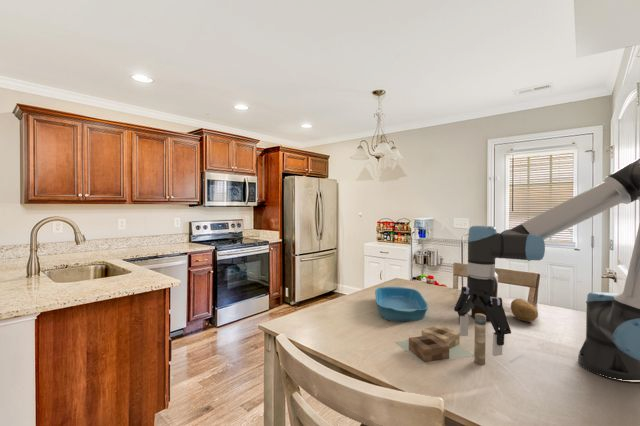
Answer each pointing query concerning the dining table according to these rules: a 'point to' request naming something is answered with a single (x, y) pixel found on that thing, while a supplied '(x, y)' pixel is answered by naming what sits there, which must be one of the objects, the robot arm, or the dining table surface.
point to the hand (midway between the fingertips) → (479, 344)
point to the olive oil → (479, 310)
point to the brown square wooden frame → (428, 348)
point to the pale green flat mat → (453, 354)
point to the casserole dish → (400, 303)
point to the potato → (524, 310)
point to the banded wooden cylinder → (480, 339)
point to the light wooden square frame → (443, 335)
